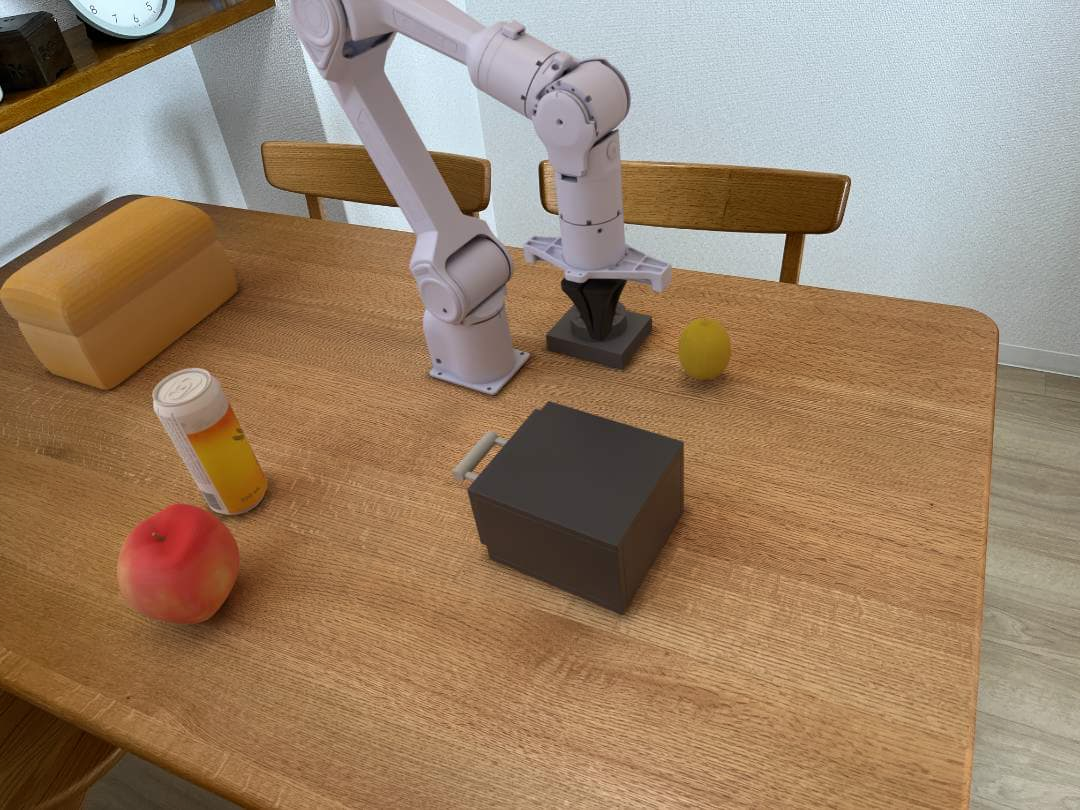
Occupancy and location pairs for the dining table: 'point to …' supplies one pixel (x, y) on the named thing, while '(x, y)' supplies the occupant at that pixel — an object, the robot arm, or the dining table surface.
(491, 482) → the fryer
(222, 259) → the bread
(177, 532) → the apple
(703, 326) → the lemon
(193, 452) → the beer can
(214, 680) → the dining table surface
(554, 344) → the block
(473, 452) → the drawer
